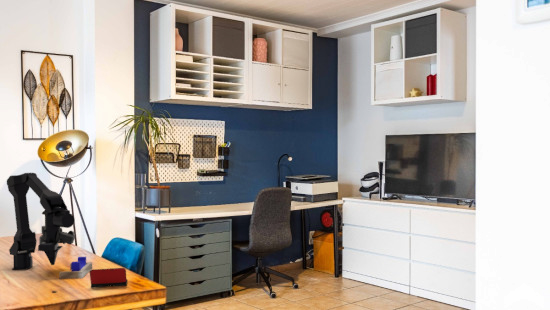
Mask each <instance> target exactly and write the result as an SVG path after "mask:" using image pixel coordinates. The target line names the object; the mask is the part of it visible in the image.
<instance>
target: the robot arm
mask: <svg viewBox="0 0 550 310" xmlns="http://www.w3.org/2000/svg"><path fill="white" fill-rule="evenodd" d="M6 186H7V189H8V190H7V191H8V192H9V193H10V194H11V195H12V197H13V203H14V204H13V206H14V215H15V223H16V225H15V226H16V232H15V234H14V236H13V243H12V244H11V245H10V248H9V250H8V252H9V255H11V256H13V257H12V258H13V267H12V269H11V270H12V271H13V270H14V271H16V270H30V269H31V268H32V267H33V255H32V254H34V253H35V252H36V248H37V250H38V252H44V253H45V256H46V257H47V259H48V261H49V263H50V265H51V266H55V264H56V261H57V256H58V252H59V250H61V248H63V245H65V244H67V245H72V244H73V243H74V241H75V239H76V234H75V231H73V230H69V231H68V232H66V231H63V228H66V229H67V228H68V229H69V228H71V227H73V225H74V224H75V217H74V215H73V214H72V213H71V210H69V209H68V206H67V205H66V203H65V200H64V199H63V196H62V195H61V194H59V193H58V192H56V191H54V190H52V189H49V187H48V186H46V184H45V183H44V182H43V181H42V180H41V179H40V178H39V177H38V174H37V173H36V172H23V173H21V174H18V175H16V174H15V175H10V176H8V178H7V179H6ZM29 190H32V191H33V192H34V193H35V195H36V196H38V198H39V204H40V206H41V207H42V208H43V209H44V211H42V212H41V214H42V215H44V226H45V229H44V230H43V231H44V232H45V239H44V242H42V243H41V244H40V245H39V244H38V246H37V241H38V240H37V237H36V236H37V235H36V234H37V233H36V231H32V229H31V228H30V219H29V209H28V208H29V207H28V199H27V194H28V192H29ZM60 244H63V245H60Z"/></svg>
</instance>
